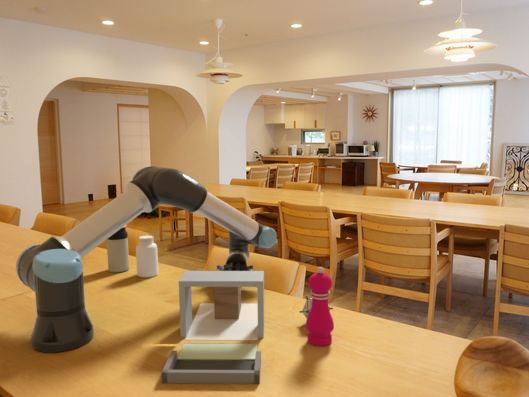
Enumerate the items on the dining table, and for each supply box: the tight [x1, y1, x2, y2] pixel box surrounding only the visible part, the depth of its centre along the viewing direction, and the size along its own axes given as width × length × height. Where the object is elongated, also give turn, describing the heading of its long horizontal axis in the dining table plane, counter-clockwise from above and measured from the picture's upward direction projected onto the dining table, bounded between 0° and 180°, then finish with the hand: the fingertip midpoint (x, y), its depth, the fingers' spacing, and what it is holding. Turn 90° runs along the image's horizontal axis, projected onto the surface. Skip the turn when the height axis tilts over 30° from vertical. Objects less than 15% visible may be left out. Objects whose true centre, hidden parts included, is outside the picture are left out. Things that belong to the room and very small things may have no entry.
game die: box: [299, 295, 334, 319], centre depth 133 cm, size 9×8×10 cm
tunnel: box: [178, 270, 265, 341], centre depth 133 cm, size 26×22×16 cm
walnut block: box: [213, 287, 242, 319], centre depth 139 cm, size 9×7×11 cm
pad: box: [177, 342, 258, 360], centre depth 118 cm, size 12×19×1 cm, turn 89°
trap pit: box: [161, 350, 262, 385], centre depth 107 cm, size 10×21×2 cm, turn 89°
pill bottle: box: [135, 235, 159, 279], centre depth 178 cm, size 8×8×15 cm
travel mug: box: [106, 224, 130, 274], centre depth 185 cm, size 8×8×18 cm
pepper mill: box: [305, 266, 335, 347], centre depth 121 cm, size 7×7×20 cm
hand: (230, 284), depth 146 cm, fingers closed
